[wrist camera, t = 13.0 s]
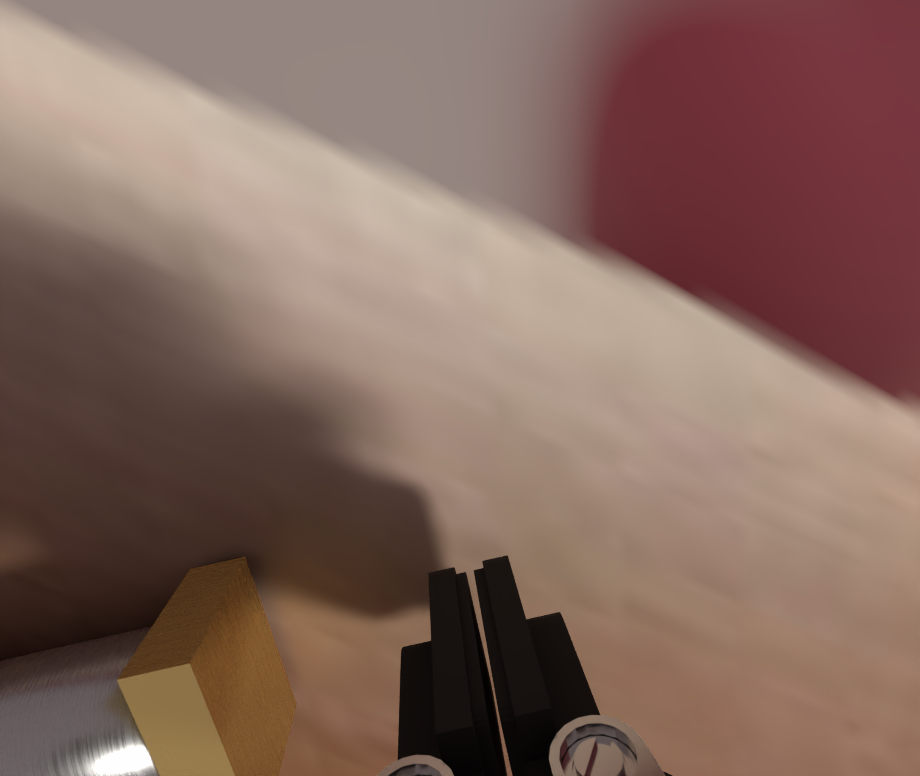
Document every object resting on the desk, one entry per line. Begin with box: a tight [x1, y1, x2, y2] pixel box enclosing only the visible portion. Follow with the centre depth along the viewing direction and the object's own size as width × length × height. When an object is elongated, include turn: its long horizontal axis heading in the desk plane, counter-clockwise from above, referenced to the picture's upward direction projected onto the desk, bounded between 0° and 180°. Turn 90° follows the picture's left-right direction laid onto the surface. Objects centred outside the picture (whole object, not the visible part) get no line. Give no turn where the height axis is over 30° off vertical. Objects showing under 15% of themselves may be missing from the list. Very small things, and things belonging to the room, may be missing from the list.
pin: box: [0, 557, 296, 776], centre depth 11 cm, size 4×9×3 cm, turn 101°
